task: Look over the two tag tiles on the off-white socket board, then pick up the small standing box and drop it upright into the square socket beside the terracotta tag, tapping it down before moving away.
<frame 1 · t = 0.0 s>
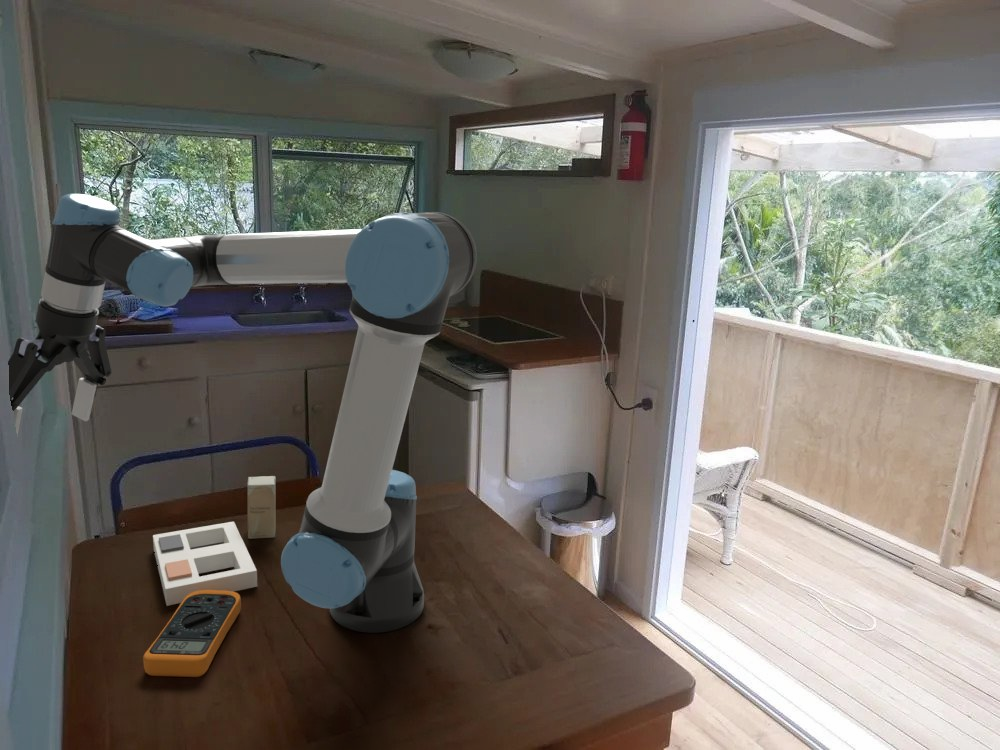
hand: (44, 430, 112), 28 cm above the table, tool tilted 20°, fingers open, 13 cm apart
socket board: (203, 567, 129), on the table
multimeter: (197, 642, 110), on the table
box: (262, 534, 142), on the table
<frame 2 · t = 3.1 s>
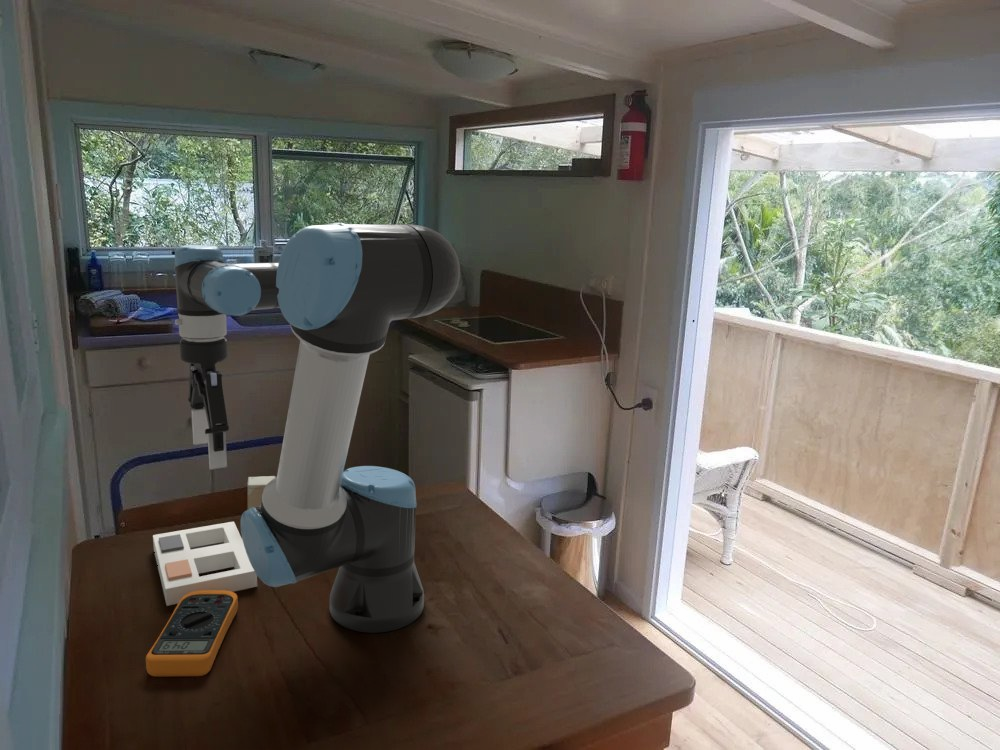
hand: (209, 455, 131), 18 cm above the table, tool pointing down, fingers open, 13 cm apart
nothing on the table moved.
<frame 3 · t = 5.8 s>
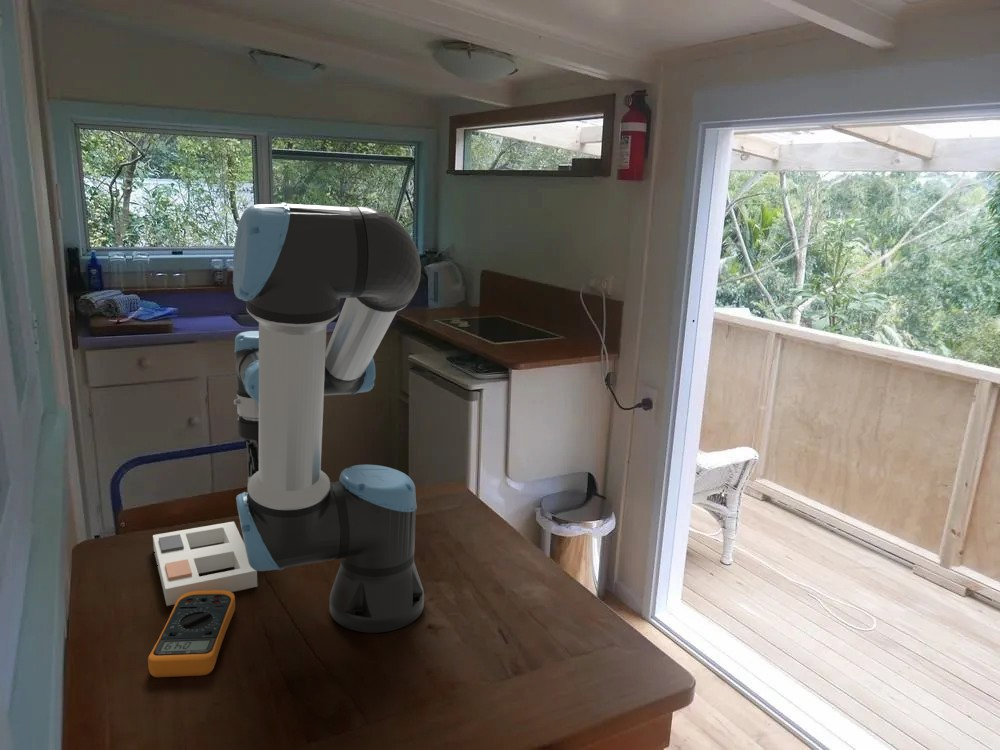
hand: (262, 529, 142), 1 cm above the table, tool pointing down, fingers closed on box, 5 cm apart
box: (262, 534, 142), on the table, touching gripper
everything else where it was.
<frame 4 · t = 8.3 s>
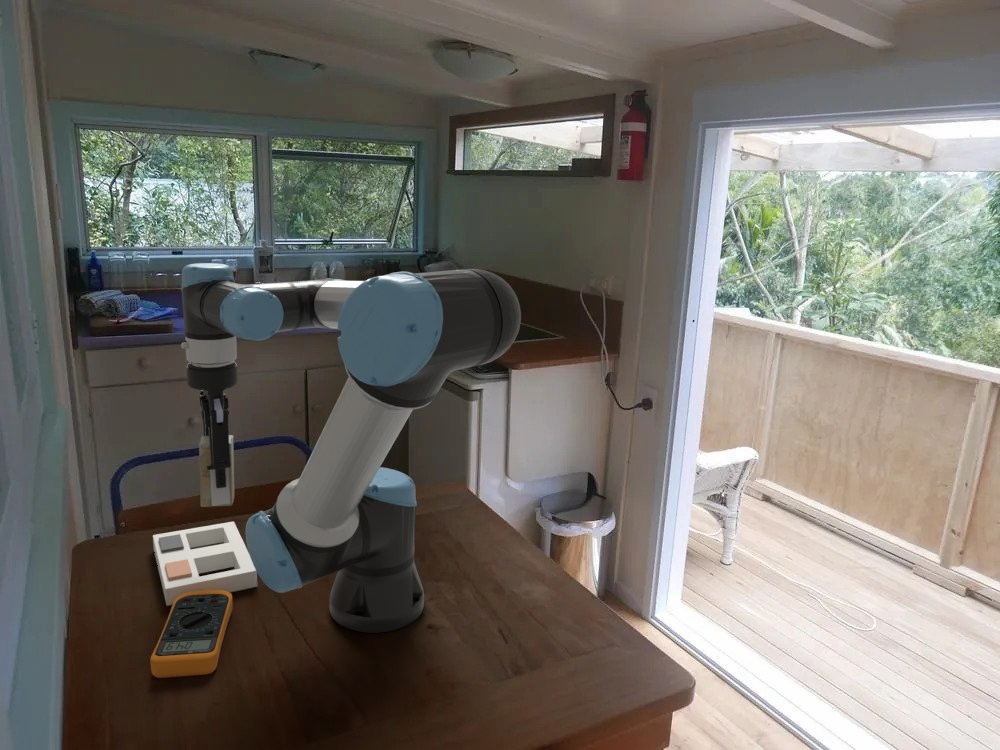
hand: (218, 497, 123), 15 cm above the table, tool pointing down, fingers closed on box, 5 cm apart
box: (218, 502, 123), point 14 cm above the table, touching gripper
everything else where it was.
when the fingers open (5 cm above the table, at t = 10.6 s): box drops 4 cm, resting in socket board.
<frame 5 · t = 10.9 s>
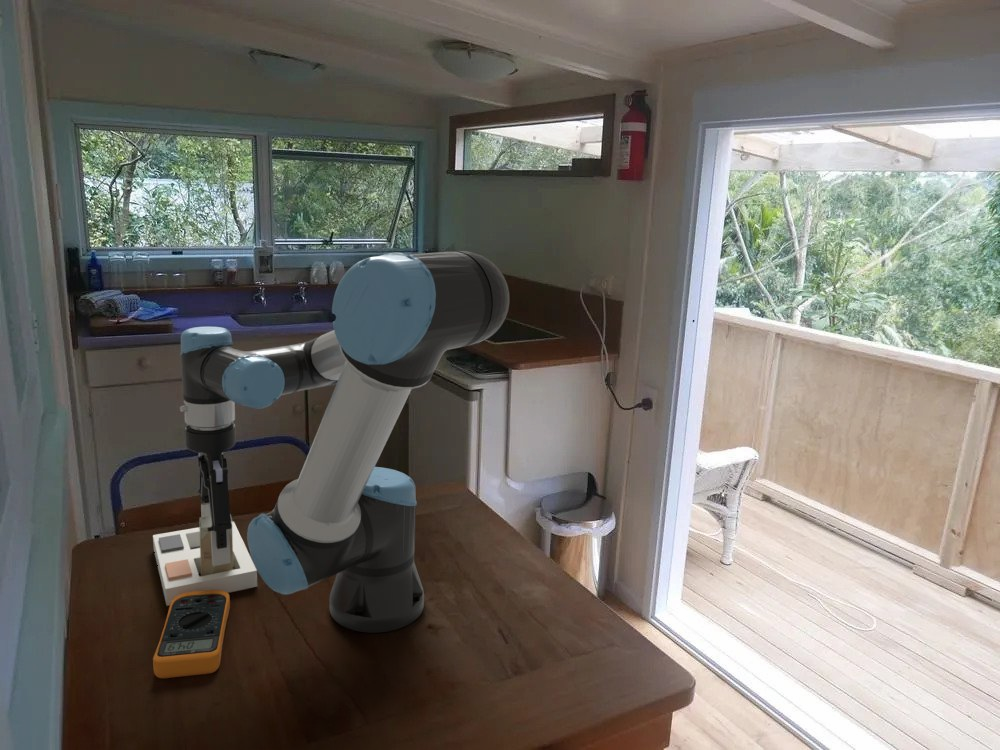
hand: (216, 550, 124), 6 cm above the table, tool pointing down, fingers open, 9 cm apart
box: (217, 580, 125), resting in socket board
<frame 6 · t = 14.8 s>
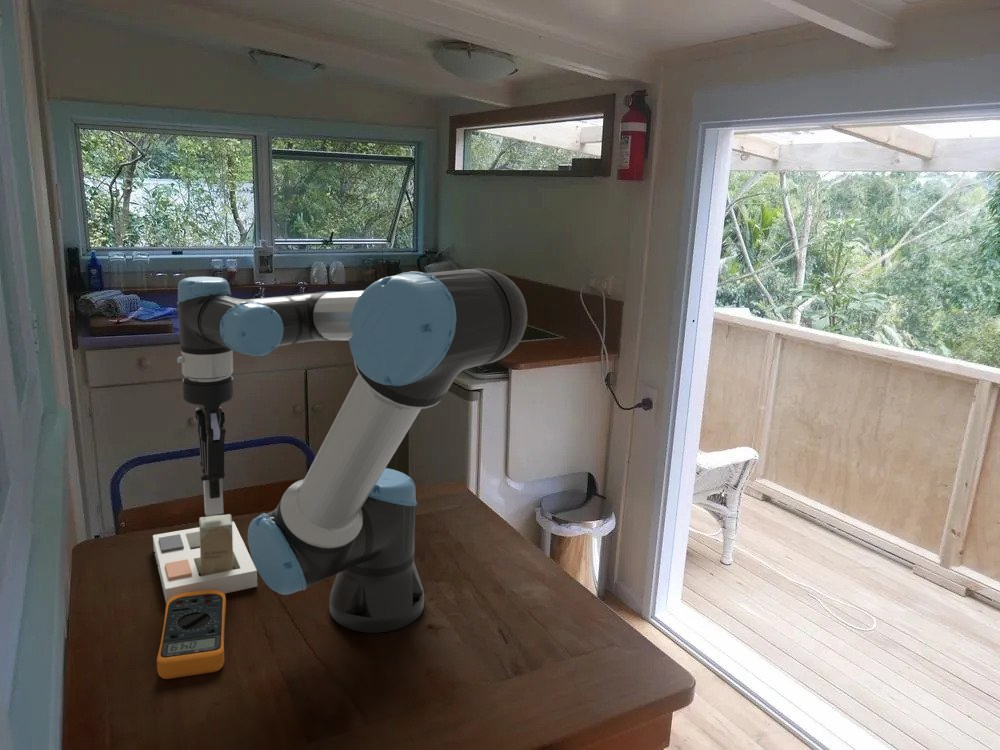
hand: (214, 512, 122), 12 cm above the table, tool pointing down, fingers closed
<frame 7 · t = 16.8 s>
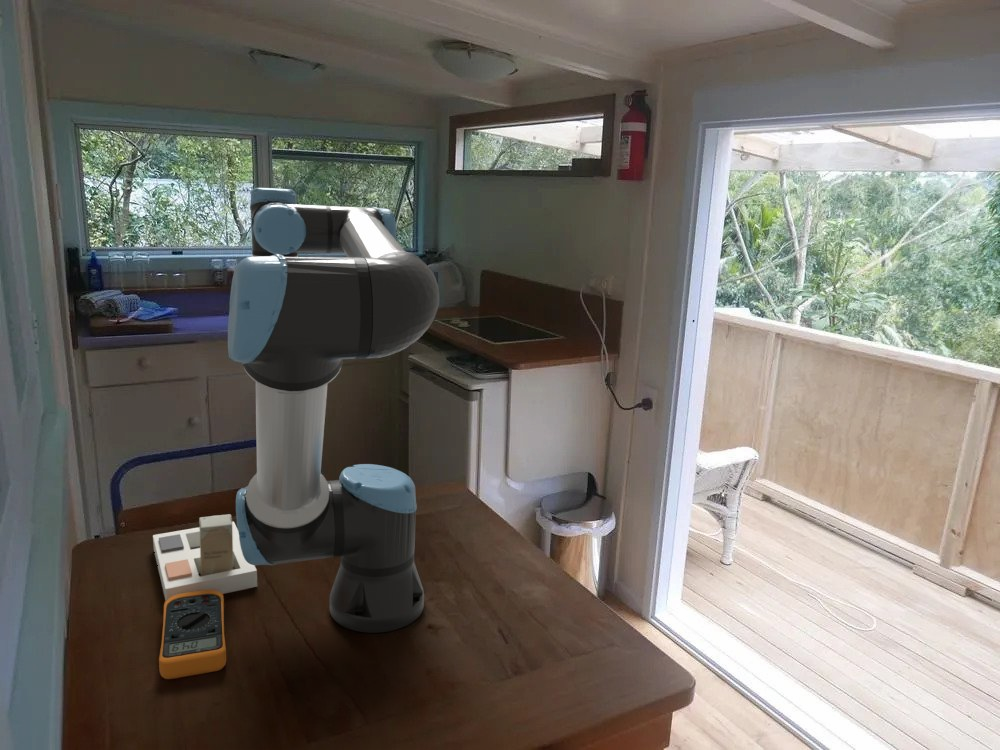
hand: (278, 409, 134), 26 cm above the table, tool pointing down, fingers closed
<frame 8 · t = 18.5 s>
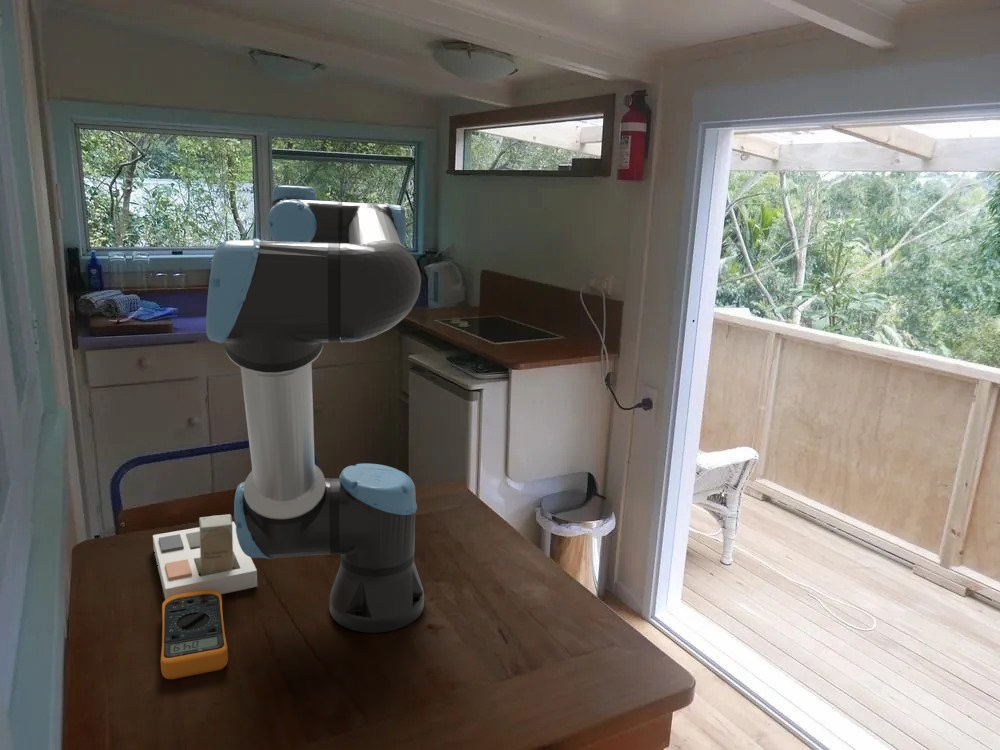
hand: (298, 400, 138), 26 cm above the table, tool pointing down, fingers closed
at the end: box 0.1 cm from the target spot on the socket board, point 0.0 cm above the socket board's base; box tilted 0°; the gripper is holding nothing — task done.
